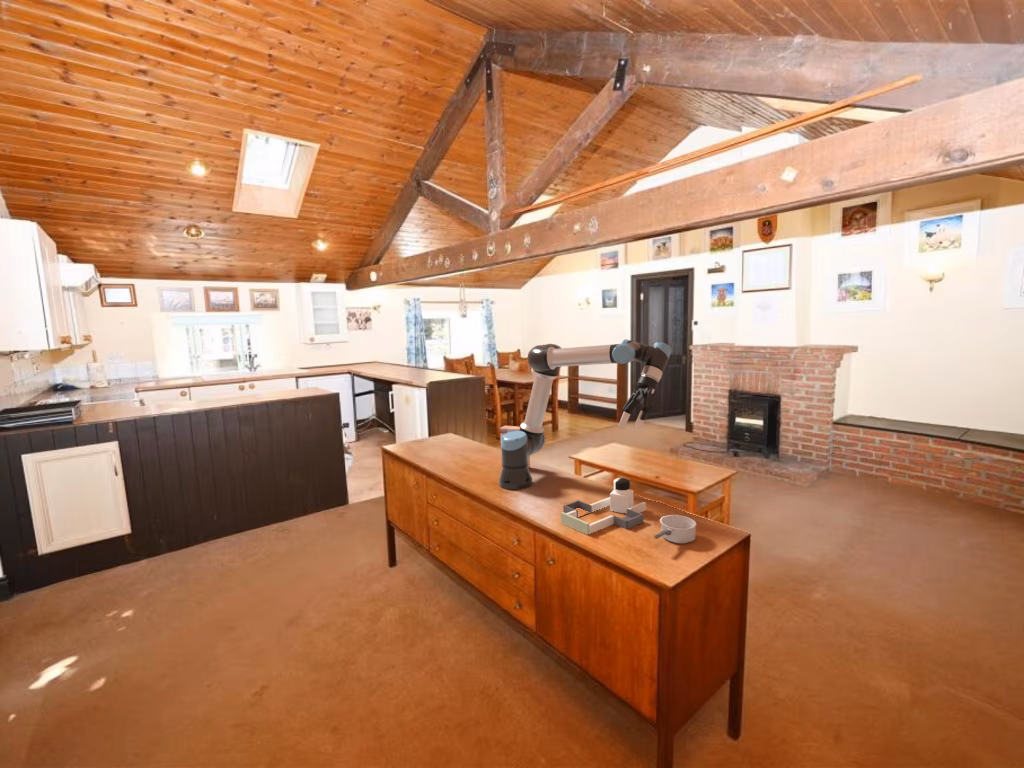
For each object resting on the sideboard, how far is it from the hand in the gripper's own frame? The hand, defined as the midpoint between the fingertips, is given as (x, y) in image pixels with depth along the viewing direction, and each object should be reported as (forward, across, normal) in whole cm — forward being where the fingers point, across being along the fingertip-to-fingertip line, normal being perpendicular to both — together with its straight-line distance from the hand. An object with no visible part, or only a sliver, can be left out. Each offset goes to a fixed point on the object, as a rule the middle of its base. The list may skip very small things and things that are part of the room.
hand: (628, 427), depth 178 cm
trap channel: (+34, -1, -5) cm, 35 cm away
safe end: (+43, -8, +7) cm, 44 cm away
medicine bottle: (+29, +2, -12) cm, 32 cm away
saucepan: (+33, -26, -17) cm, 46 cm away
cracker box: (+31, +68, +17) cm, 77 cm away
